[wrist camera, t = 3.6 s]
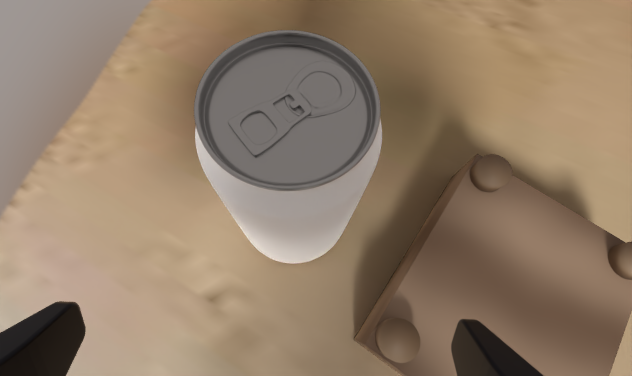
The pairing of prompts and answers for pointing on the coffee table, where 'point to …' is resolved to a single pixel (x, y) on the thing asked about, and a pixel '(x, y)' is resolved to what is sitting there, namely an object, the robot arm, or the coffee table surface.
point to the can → (288, 139)
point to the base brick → (504, 281)
